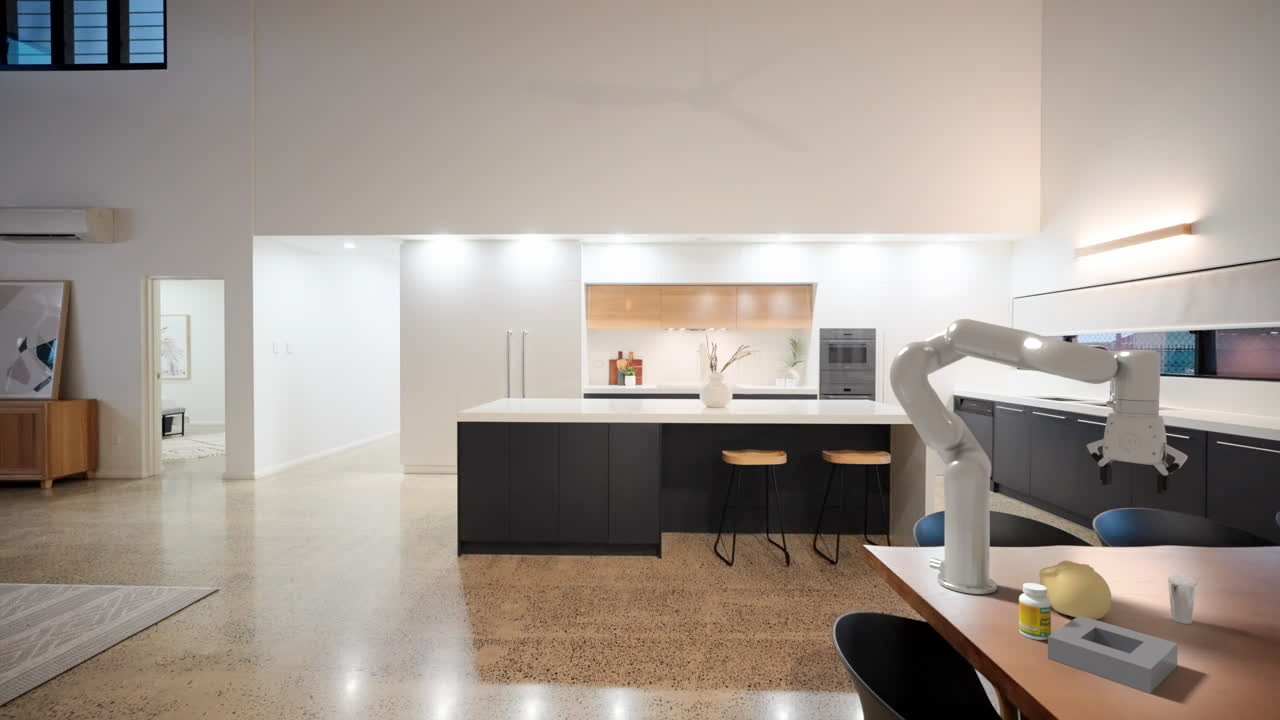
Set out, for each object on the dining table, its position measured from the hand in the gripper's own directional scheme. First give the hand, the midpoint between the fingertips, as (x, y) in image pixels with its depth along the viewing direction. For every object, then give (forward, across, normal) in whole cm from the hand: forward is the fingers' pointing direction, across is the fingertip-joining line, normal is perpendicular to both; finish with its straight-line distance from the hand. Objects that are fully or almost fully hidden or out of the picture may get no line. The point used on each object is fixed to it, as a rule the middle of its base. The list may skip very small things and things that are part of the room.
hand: (1133, 488), depth 135 cm
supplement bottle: (+27, -6, -28) cm, 39 cm away
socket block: (+27, +6, -28) cm, 39 cm away
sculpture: (+27, -6, -10) cm, 29 cm away
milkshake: (+26, +8, +4) cm, 28 cm away
